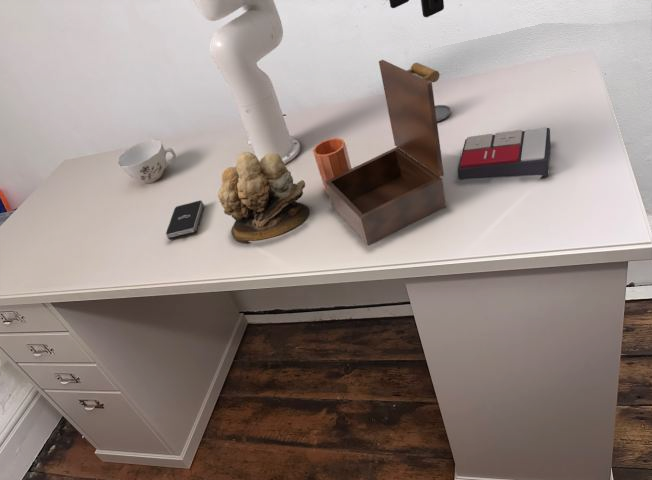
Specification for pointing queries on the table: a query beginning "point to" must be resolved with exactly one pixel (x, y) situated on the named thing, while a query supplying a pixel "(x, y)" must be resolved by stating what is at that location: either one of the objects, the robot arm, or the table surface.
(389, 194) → the chest
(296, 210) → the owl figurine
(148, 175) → the teacup
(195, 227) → the external hard drive
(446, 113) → the pocket watch
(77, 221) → the table surface
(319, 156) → the cup
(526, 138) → the calculator
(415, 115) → the lid
